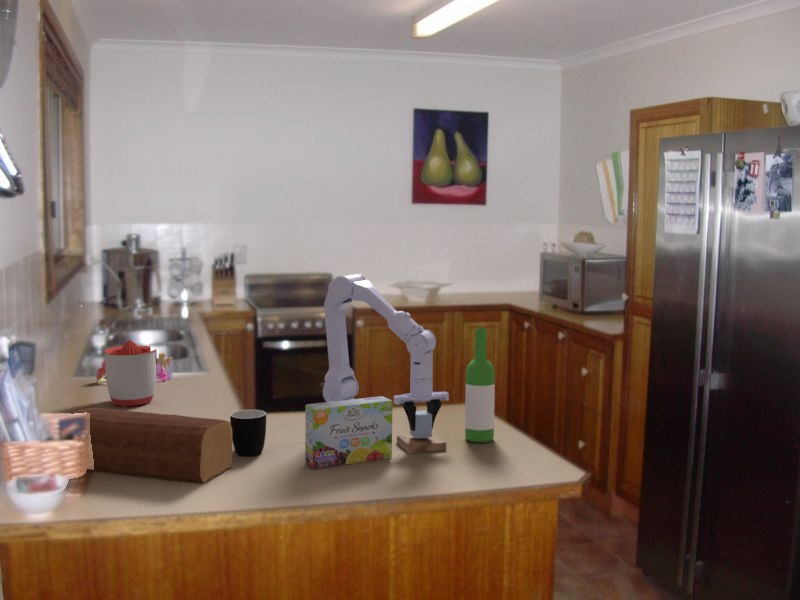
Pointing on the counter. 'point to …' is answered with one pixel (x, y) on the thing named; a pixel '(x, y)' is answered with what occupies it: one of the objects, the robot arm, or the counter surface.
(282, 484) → the counter surface
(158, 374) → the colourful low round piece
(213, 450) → the bread
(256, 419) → the mug
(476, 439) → the wine bottle
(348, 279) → the robot arm
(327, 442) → the snack box
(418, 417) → the block
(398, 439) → the base board
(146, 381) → the citrus juicer
